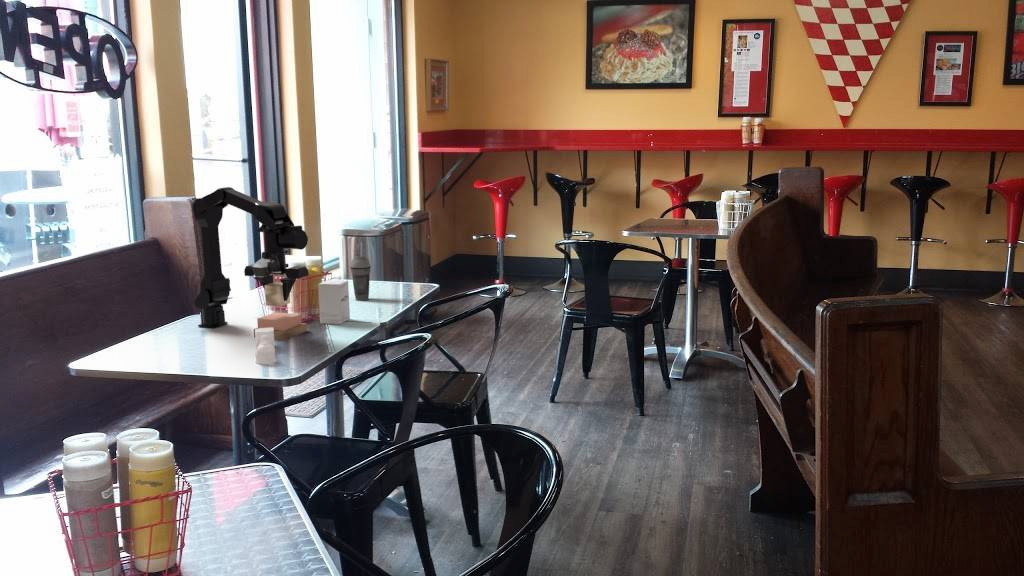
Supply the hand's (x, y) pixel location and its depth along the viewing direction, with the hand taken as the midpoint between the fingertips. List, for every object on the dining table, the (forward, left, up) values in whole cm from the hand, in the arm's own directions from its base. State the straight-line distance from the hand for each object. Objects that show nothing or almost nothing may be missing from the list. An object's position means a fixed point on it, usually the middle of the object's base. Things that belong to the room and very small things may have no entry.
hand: (278, 300), depth 262 cm
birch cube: (0, 0, -1) cm, 1 cm away
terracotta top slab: (0, 0, -8) cm, 8 cm away
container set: (+10, -21, -11) cm, 26 cm away
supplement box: (+7, +19, -11) cm, 23 cm away
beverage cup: (-2, +51, -11) cm, 52 cm away
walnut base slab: (0, 0, -11) cm, 11 cm away
